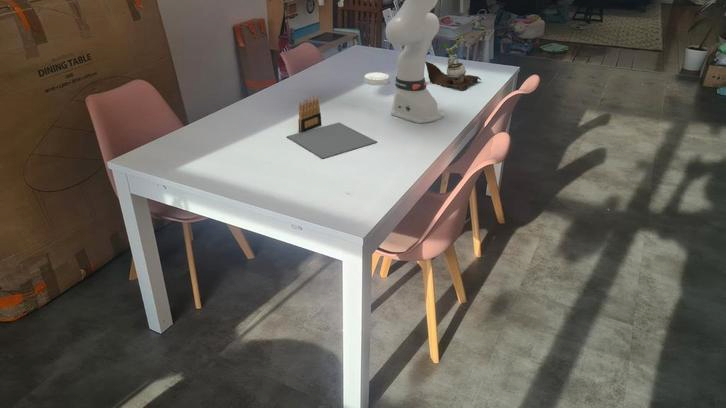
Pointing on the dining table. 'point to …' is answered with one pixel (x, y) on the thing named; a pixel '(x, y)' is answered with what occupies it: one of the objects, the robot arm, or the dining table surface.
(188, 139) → the dining table surface
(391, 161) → the dining table surface
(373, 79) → the mooncake
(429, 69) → the potted plant
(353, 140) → the slate mat
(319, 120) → the ammunition clip
